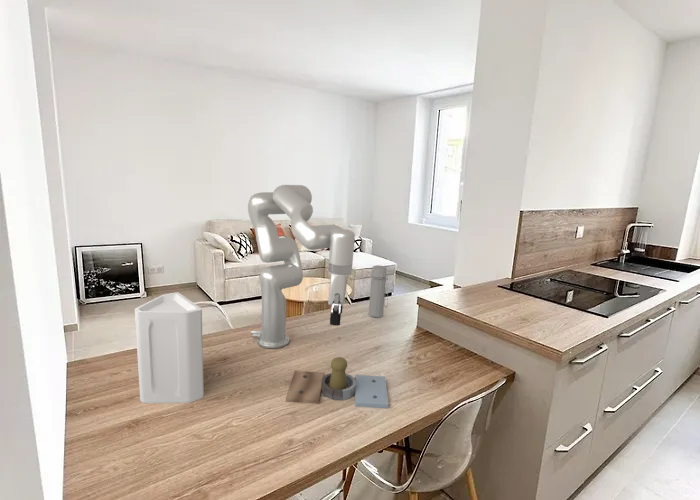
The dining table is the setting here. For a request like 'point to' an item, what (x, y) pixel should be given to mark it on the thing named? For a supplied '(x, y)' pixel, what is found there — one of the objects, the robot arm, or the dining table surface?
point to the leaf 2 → (367, 391)
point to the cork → (338, 374)
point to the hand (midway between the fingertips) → (336, 318)
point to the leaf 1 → (311, 387)
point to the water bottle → (377, 291)
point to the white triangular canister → (169, 350)
